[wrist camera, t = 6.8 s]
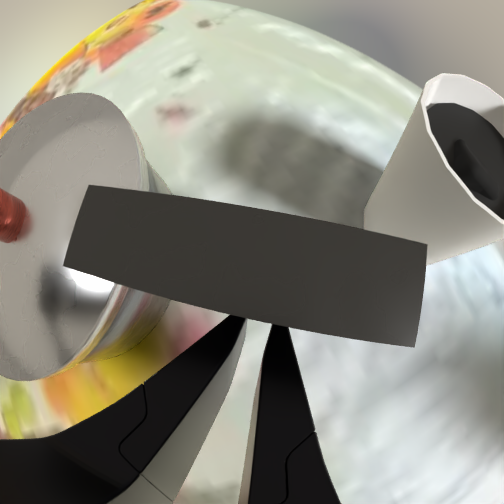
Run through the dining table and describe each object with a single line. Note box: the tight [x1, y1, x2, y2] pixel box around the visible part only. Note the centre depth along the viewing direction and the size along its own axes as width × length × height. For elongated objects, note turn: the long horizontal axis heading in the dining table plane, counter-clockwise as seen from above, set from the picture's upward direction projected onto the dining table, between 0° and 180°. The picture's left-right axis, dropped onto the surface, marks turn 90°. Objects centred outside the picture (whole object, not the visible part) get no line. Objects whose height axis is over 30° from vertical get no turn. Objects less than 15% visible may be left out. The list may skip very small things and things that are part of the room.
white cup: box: [363, 73, 504, 266], centre depth 12 cm, size 7×7×10 cm
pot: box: [78, 160, 172, 364], centre depth 15 cm, size 15×27×6 cm, turn 77°
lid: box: [0, 93, 428, 381], centre depth 10 cm, size 16×25×4 cm, turn 77°
